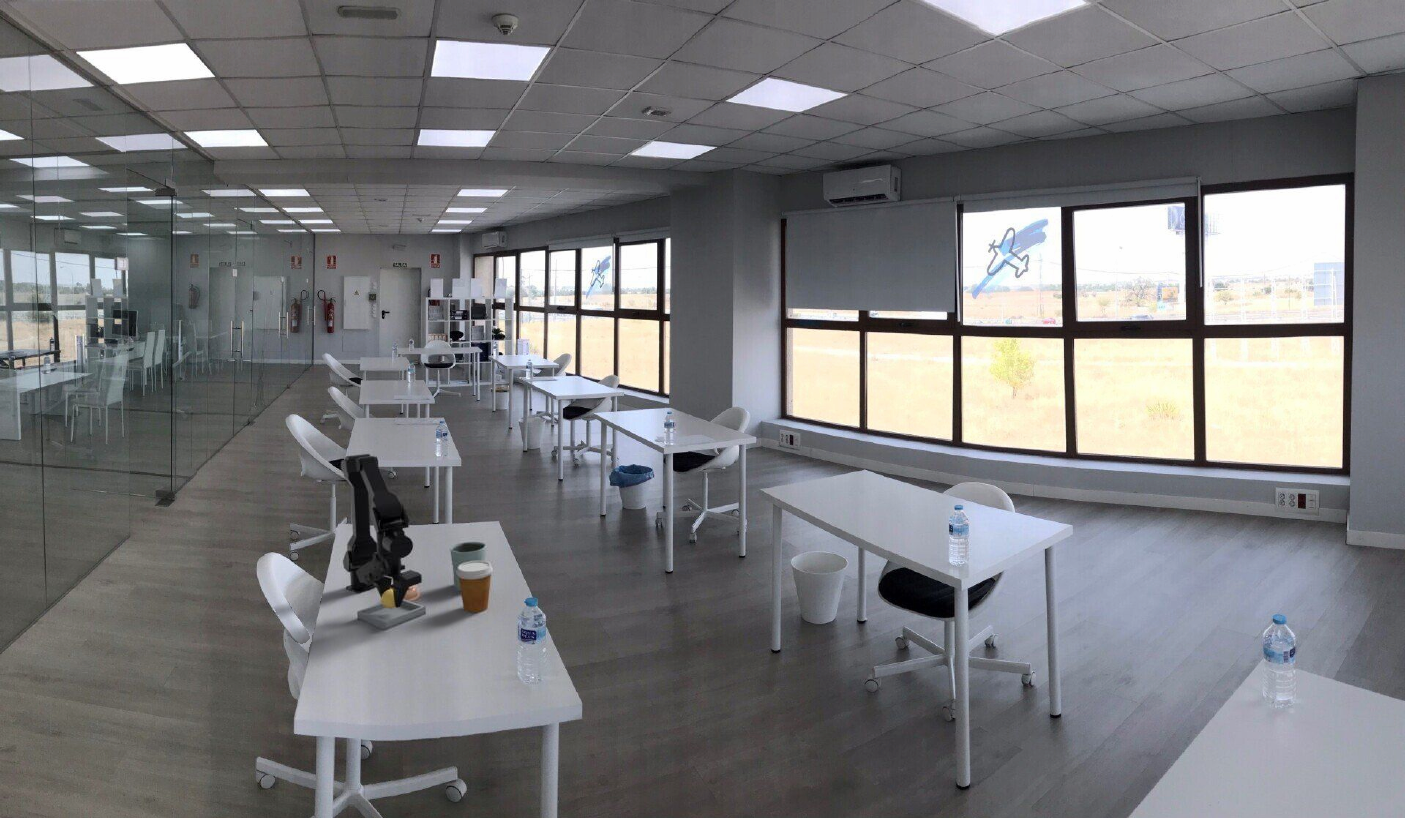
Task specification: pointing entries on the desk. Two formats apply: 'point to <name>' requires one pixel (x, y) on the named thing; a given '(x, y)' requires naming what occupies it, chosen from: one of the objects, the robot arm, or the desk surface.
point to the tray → (391, 614)
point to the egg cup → (412, 594)
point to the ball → (388, 599)
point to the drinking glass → (466, 556)
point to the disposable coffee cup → (475, 585)
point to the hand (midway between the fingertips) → (391, 604)
